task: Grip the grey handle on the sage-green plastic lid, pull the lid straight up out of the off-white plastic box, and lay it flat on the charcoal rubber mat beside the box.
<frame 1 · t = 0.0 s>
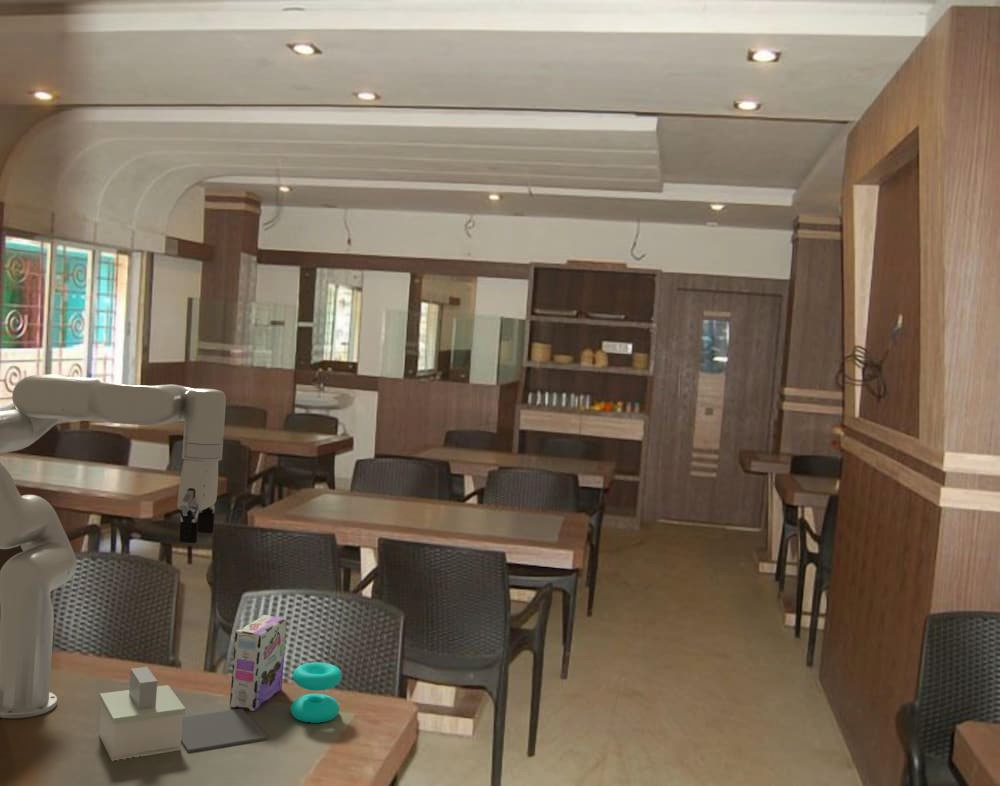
hand: (196, 537, 185), 37 cm above the table, tool pointing down, fingers open, 9 cm apart
storage box: (139, 742, 176), on the table
rubber mat: (216, 730, 184), on the table
lid: (141, 712, 176), point 6 cm above the table, touching storage box
donuts: (314, 716, 195), on the table
candy box: (256, 699, 202), on the table
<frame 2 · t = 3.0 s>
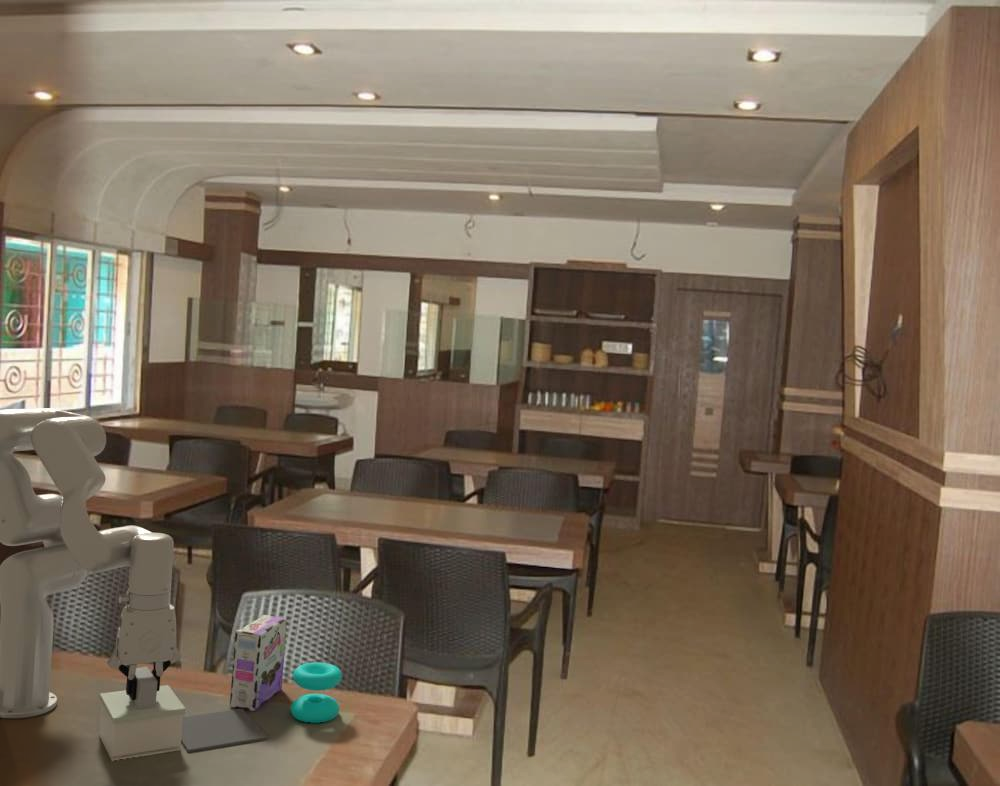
hand: (142, 695, 175), 9 cm above the table, tool pointing down, fingers closed on lid, 3 cm apart
lid: (141, 712, 176), point 6 cm above the table, touching gripper, storage box
everything else where it was.
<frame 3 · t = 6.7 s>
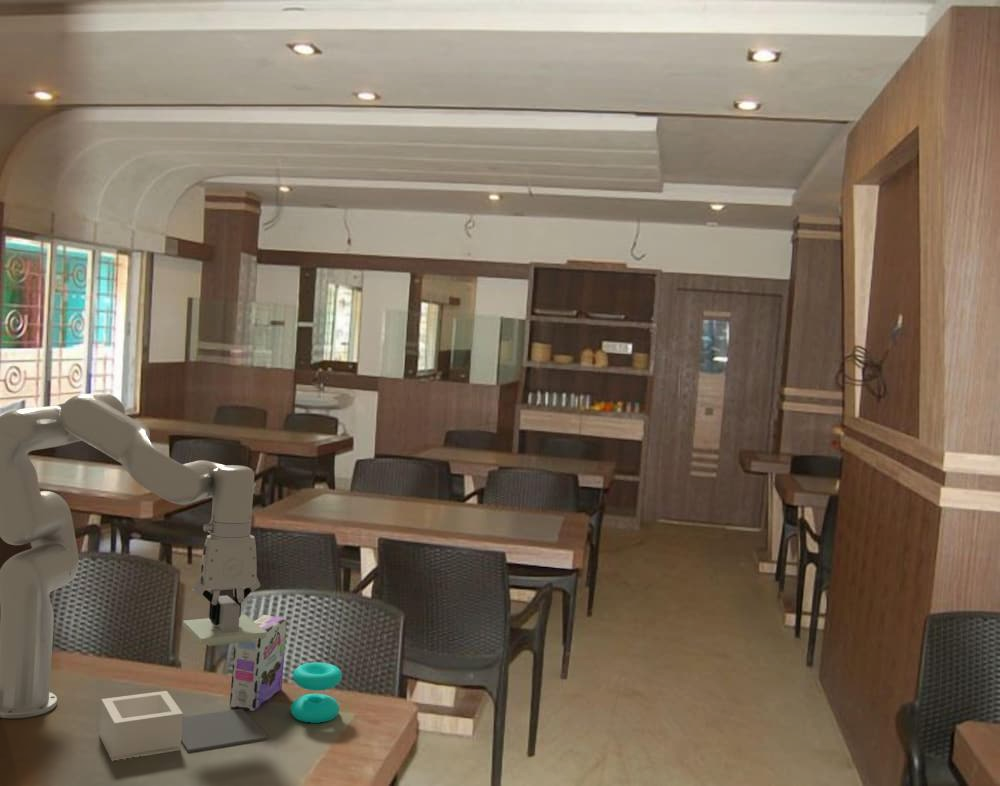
hand: (224, 621, 183), 22 cm above the table, tool pointing down, fingers closed on lid, 3 cm apart
lid: (223, 637, 183), point 19 cm above the table, touching gripper
everything else where it was.
when the fingers open (5 cm above the table, at t = 10.3 s): lid stays where it is, resting on rubber mat.
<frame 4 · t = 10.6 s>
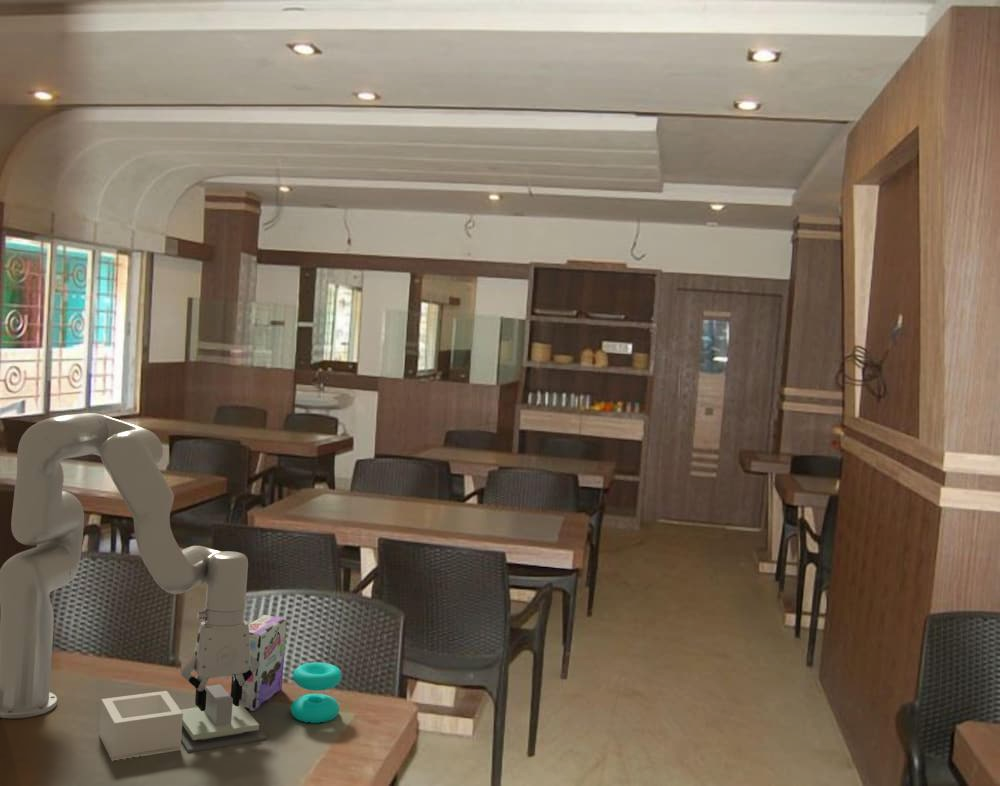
hand: (218, 705, 184), 5 cm above the table, tool pointing down, fingers open, 6 cm apart
lid: (216, 728, 184), resting on rubber mat
everything else where it was.
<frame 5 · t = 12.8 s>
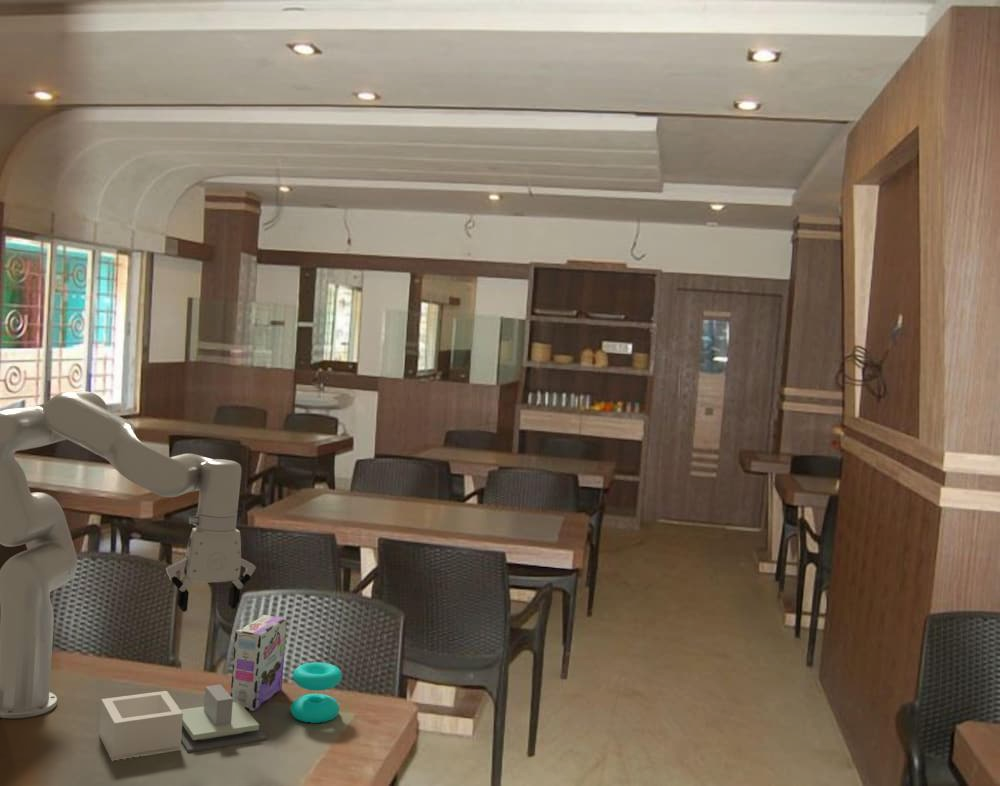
hand: (207, 608, 184), 24 cm above the table, tool pointing down, fingers open, 9 cm apart
nothing on the table moved.
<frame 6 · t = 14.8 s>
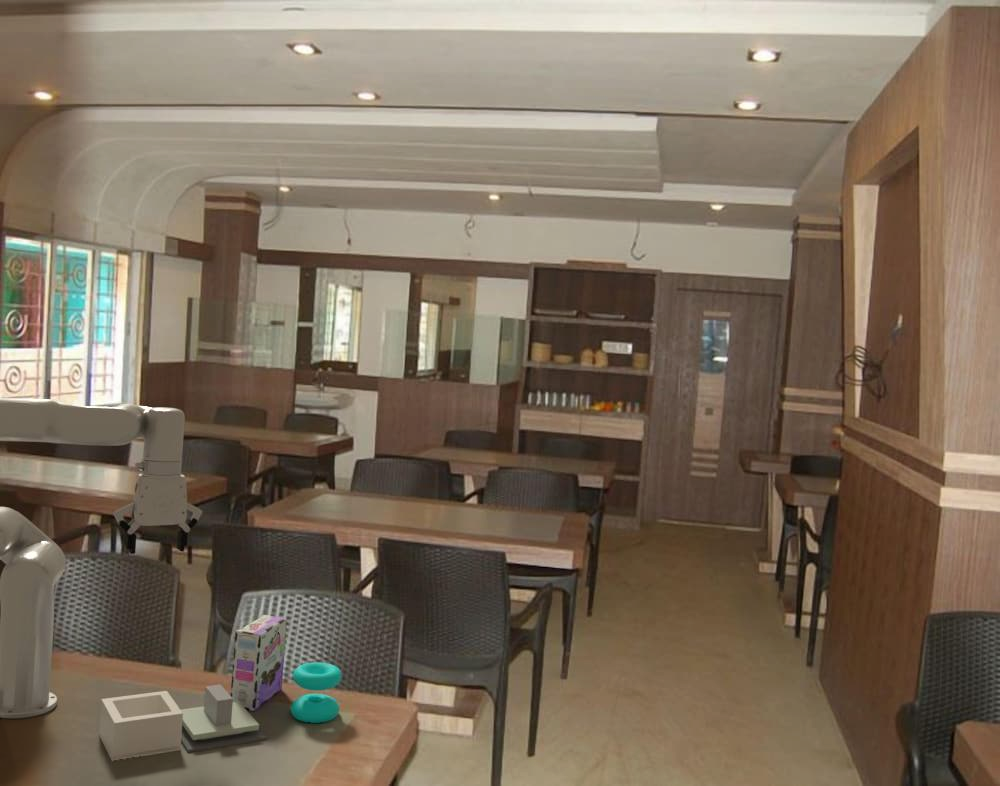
hand: (156, 551, 191), 32 cm above the table, tool pointing down, fingers open, 9 cm apart
nothing on the table moved.
at the end: lid inside the target area on the rubber mat (0.1 cm from its centre), point 0.5 cm above the rubber mat's base; lid tilted 0°; the gripper is holding nothing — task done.
